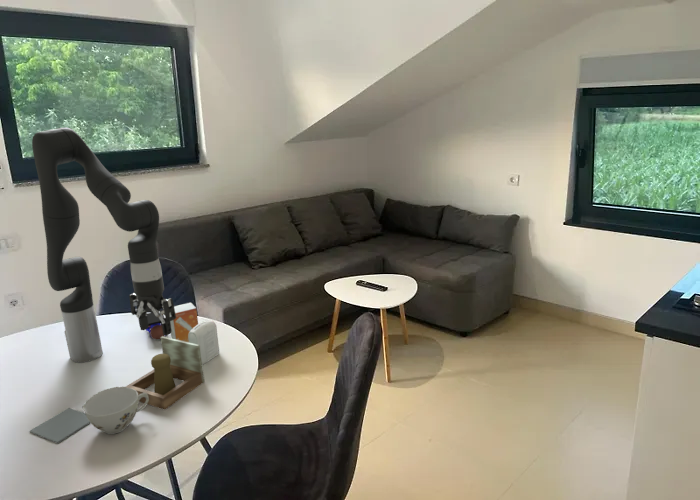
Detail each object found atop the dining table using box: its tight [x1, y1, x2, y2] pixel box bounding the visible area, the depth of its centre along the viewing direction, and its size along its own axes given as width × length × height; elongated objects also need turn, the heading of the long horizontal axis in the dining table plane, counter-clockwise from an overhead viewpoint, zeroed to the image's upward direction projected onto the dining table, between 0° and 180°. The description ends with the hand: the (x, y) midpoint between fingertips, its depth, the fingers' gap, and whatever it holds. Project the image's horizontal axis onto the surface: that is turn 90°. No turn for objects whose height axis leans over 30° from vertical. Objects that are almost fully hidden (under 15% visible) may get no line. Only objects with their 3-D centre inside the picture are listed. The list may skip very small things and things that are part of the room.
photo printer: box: [188, 320, 220, 366], centre depth 162 cm, size 10×4×12 cm, turn 155°
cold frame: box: [125, 336, 205, 411], centre depth 146 cm, size 14×15×12 cm
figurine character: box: [145, 309, 166, 340], centre depth 183 cm, size 7×8×15 cm
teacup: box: [82, 386, 149, 435], centre depth 131 cm, size 15×12×8 cm
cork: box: [150, 353, 177, 395], centre depth 146 cm, size 6×6×11 cm
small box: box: [170, 302, 199, 342], centre depth 174 cm, size 8×6×13 cm
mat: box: [29, 407, 91, 444], centre depth 133 cm, size 11×11×1 cm
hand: (156, 331), depth 142 cm, fingers open, 8 cm apart
